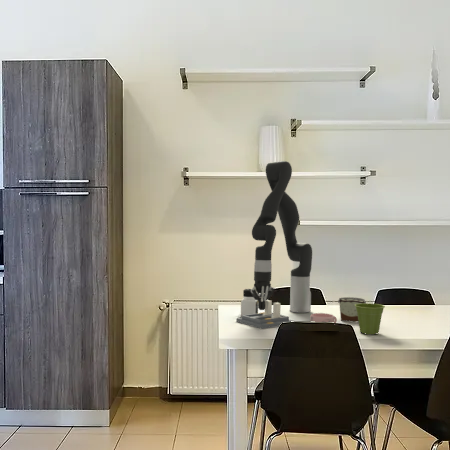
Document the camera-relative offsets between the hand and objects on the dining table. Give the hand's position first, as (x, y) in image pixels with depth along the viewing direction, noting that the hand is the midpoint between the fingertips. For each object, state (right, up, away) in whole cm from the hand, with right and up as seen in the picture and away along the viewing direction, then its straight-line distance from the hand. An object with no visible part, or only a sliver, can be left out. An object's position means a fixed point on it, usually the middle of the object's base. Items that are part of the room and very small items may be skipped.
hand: (261, 309), depth 248 cm
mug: (+25, -6, -14) cm, 29 cm away
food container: (+41, -6, +6) cm, 42 cm away
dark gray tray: (+1, -5, -3) cm, 6 cm away
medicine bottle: (-5, -5, +15) cm, 17 cm away
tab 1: (+3, -3, +2) cm, 5 cm away
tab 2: (+6, -4, -4) cm, 8 cm away
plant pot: (+42, -7, -20) cm, 47 cm away
